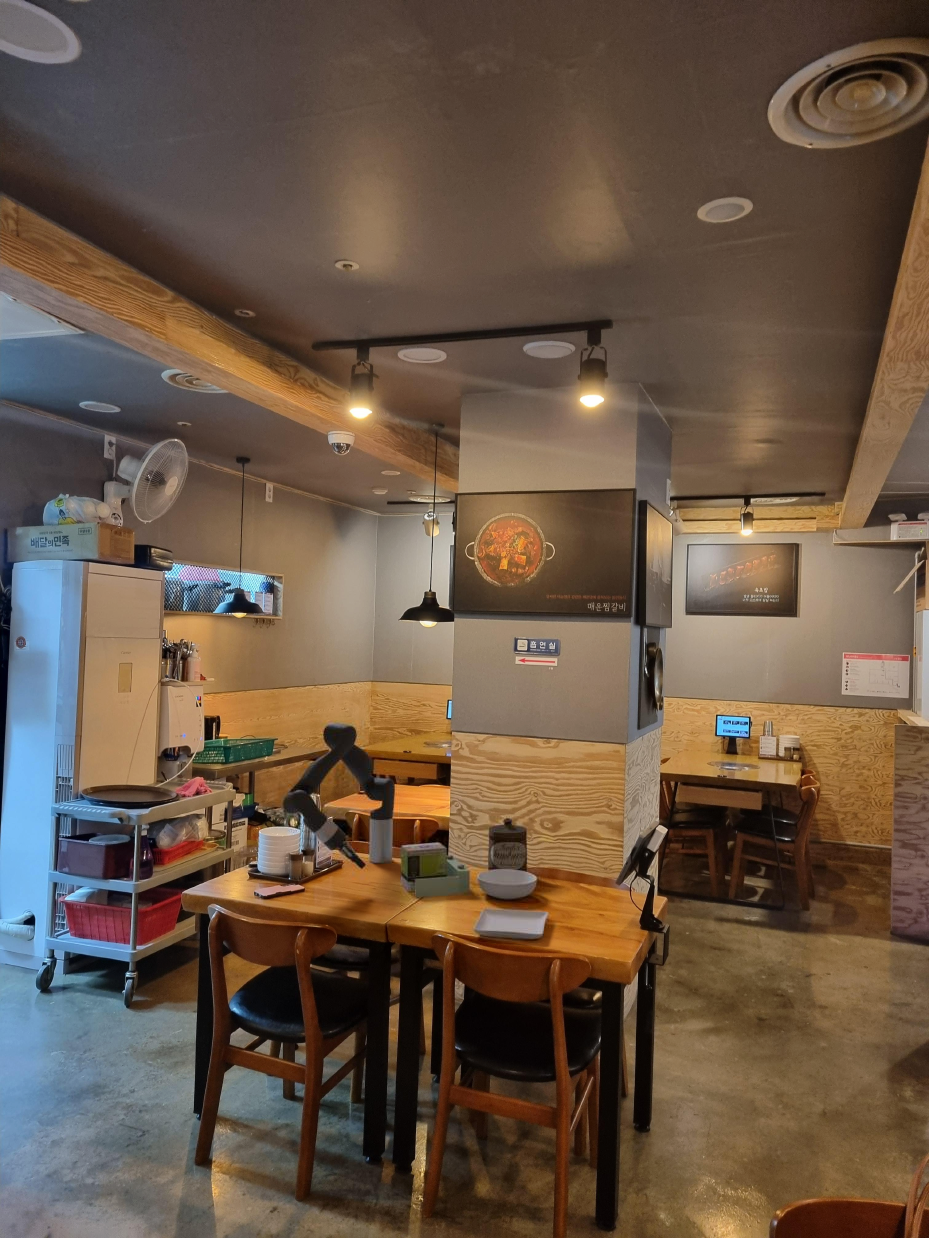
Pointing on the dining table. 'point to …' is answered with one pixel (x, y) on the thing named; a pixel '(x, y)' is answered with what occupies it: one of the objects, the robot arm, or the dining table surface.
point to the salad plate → (511, 923)
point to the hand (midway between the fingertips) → (363, 866)
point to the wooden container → (507, 847)
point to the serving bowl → (507, 883)
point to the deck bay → (445, 881)
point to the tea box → (422, 863)
